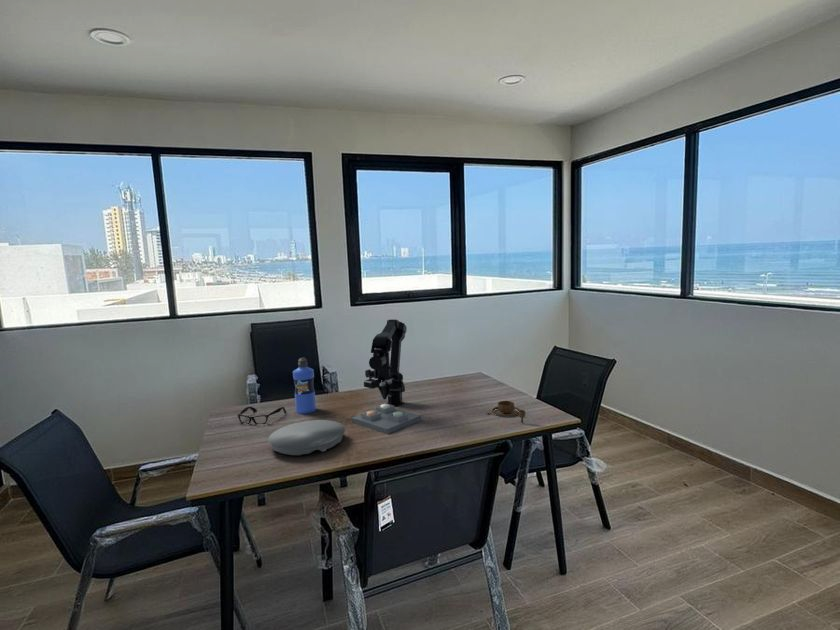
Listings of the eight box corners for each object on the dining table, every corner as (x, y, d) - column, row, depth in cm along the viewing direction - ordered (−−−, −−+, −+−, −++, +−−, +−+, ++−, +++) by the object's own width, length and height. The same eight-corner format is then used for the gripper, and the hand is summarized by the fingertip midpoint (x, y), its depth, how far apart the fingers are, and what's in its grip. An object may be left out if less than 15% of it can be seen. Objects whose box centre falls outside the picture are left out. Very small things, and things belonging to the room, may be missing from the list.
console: (386, 409, 206) (385, 401, 205) (421, 419, 191) (421, 410, 190) (351, 422, 191) (351, 413, 191) (387, 434, 176) (386, 424, 176)
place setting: (527, 410, 200) (527, 397, 199) (527, 426, 180) (527, 412, 180) (487, 408, 204) (487, 396, 203) (483, 424, 185) (483, 410, 184)
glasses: (234, 426, 195) (233, 415, 194) (254, 411, 212) (253, 401, 211) (270, 427, 192) (269, 416, 191) (287, 411, 210) (286, 401, 209)
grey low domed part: (315, 425, 189) (314, 415, 189) (361, 440, 171) (360, 428, 171) (254, 449, 168) (253, 438, 167) (299, 468, 150) (298, 455, 150)
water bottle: (313, 413, 204) (309, 359, 202) (293, 414, 205) (289, 360, 202) (318, 407, 214) (315, 355, 211) (298, 407, 214) (295, 356, 211)
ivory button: (385, 407, 201) (385, 403, 201) (391, 409, 199) (391, 404, 198) (378, 410, 198) (378, 405, 198) (385, 411, 196) (384, 407, 195)
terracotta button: (371, 414, 193) (371, 410, 192) (378, 416, 190) (377, 411, 190) (364, 417, 190) (364, 412, 189) (370, 419, 187) (370, 414, 187)
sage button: (398, 415, 190) (397, 410, 190) (404, 417, 188) (404, 412, 187) (391, 418, 187) (391, 413, 187) (397, 420, 185) (397, 415, 184)
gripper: (386, 358, 208) (387, 391, 210) (354, 366, 195) (356, 401, 196) (403, 361, 201) (404, 395, 202) (371, 369, 187) (373, 405, 189)
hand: (384, 399), depth 198 cm, fingers closed
